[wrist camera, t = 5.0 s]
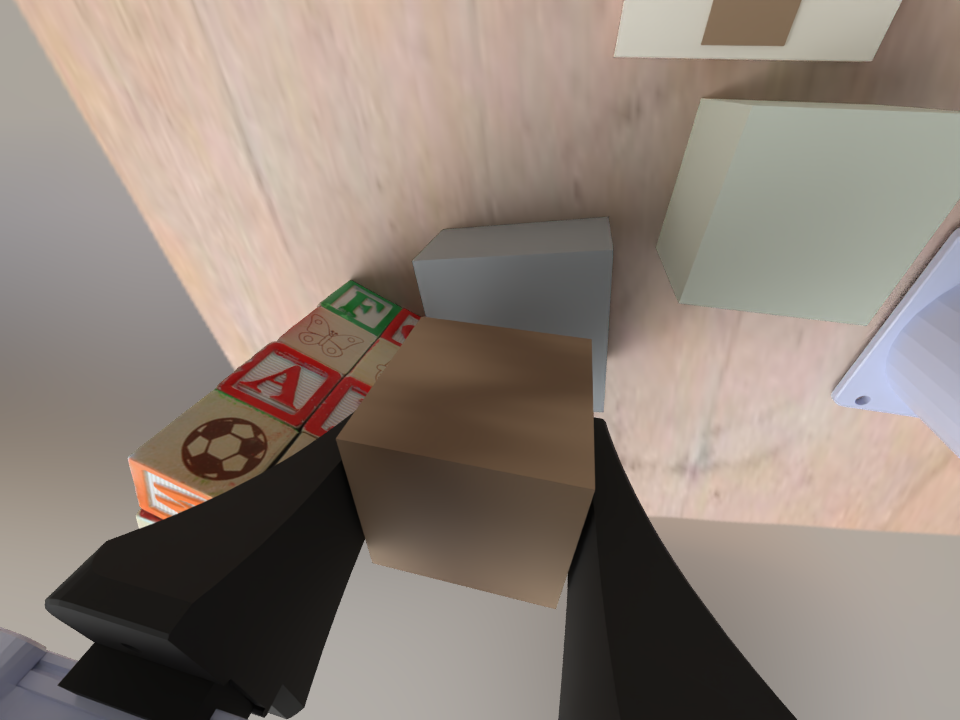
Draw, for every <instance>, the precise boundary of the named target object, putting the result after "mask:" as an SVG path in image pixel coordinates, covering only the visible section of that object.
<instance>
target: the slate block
mask: <svg viewBox="0 0 960 720" xmlns="http://www.w3.org/2000/svg"><path fill="white" fill-rule="evenodd" d="M412 263H413V267H414V271H415V275H416V279H417V283H418V287H419V291H420V295H421V300H422V304H423V308H424V312H425V316H426V317H430V318H438V319H445V320H452V321H460V322H467V323H475V324H482V325H490V326H497V327H505V328H512V329H520V330H527V331H534V332H542V333H549V334H557V335H564V336H572V337H579V338H587V339H592V372H593V412H604V397H605V380H606V364H607V347H608V331H609V314H610V298H611V281H612V265H613V244H612V237H611V230H610V224H609V217H598V218H585V219H572V220H559V221H546V222H533V223H520V224H507V225H494V226H481V227H468V228H455V229H443V230H442V231H441V232H440V233H439V234H438V235H437V236H436V237H435V238H434V239H433V240H432V241H431V242H430V243H429V244H428V245H427V246H426V247H425V248H424V249H423V250H422V251H421V252H420V253H419V254H418V255H417V256H416V257H415V258H414V259H413V260H412Z"/></svg>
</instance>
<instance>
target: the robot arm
mask: <svg viewBox="0 0 960 720" xmlns="http://www.w3.org/2000/svg"><path fill="white" fill-rule="evenodd" d="M861 396H863V397H862V398H859V399H857V398H858V397H861ZM831 397H832V399H833V400H834V402H835V403H836V404H837V405H840V406H844V407H851V408H857V409H864V410H871V411H878V412H884V413H891V414H898V415H904V416H911V417H918V418H920V419H921V420H922V421H923V422H924V423H925V424H926V425H927V426H928V427H929V428H930V429H931V430H932V431H933V432H934V433H935V434H936V435H937V436H938V437H939V438H940V439H941V440H942V441H943V442H944V443H945V444H946V445H947V446H948V447H949V448H950V449H951V450H952V451H953V452H954V453H955V454H956V455H957V457H958V458H959V459H960V227H959V228H957V229H956V230H955V231H954V232H953V233H952V234H951V235H950V237H949V238H948V239H947V241H946V242H945V243H944V245H943V246H942V247H941V248H940V250H939V251H938V252H937V254H936V255H935V256H934V258H933V259H932V260H931V262H930V263H929V264H928V266H927V267H926V268H925V270H924V271H923V272H922V274H921V275H920V276H919V278H918V279H917V280H916V282H915V283H914V284H913V286H912V287H911V288H910V290H909V291H908V292H907V294H906V295H905V296H904V298H903V299H902V300H901V302H900V303H899V304H898V306H897V307H896V308H895V309H894V311H893V312H892V313H891V315H890V316H889V317H888V319H887V320H886V321H885V323H884V324H883V325H882V327H881V328H880V329H879V331H878V332H877V333H876V335H875V336H874V337H873V339H872V340H871V341H870V343H869V344H868V345H867V347H866V348H865V349H864V351H863V352H862V353H861V355H860V356H859V357H858V359H857V360H856V361H855V363H854V364H853V365H852V367H851V368H850V369H849V370H848V372H847V373H846V374H845V376H844V377H843V378H842V380H841V381H840V382H839V384H838V385H837V386H836V388H835V389H834V390H833V392H832V394H831ZM355 411H356V410H355ZM355 411H354V412H355ZM354 412H353V413H354ZM353 413H352V414H350V415H349V416H348V417H346V418H345V419H344V420H342V421H341V422H340V423H338V424H337V425H336V426H334V427H333V428H332V429H330V430H329V431H328V432H326V433H325V434H323V435H322V436H320V437H319V438H317V439H316V440H315V441H313V442H312V443H310V444H309V445H307V446H306V447H304V448H303V449H301V450H300V451H298V452H297V453H295V454H294V455H292V456H290V457H289V458H287V459H285V460H284V461H282V462H280V463H279V464H277V465H275V466H273V467H272V468H270V469H268V470H266V471H265V472H263V473H261V474H259V475H257V476H255V477H253V478H251V479H250V480H248V481H246V482H244V483H242V484H240V485H238V486H236V487H234V488H232V489H230V490H228V491H226V492H224V493H222V494H220V495H218V496H216V497H214V498H212V499H209V500H207V501H205V502H203V503H201V504H198V505H196V506H194V507H192V508H189V509H187V510H185V511H182V512H180V513H178V514H175V515H173V516H171V517H168V518H166V519H163V520H161V521H158V522H156V523H153V524H150V525H148V526H145V527H143V528H140V529H137V530H135V531H132V532H129V533H127V534H125V535H122V536H119V537H116V538H114V539H111V540H108V541H106V542H105V543H104V544H103V545H102V546H101V547H100V548H99V549H98V550H97V551H96V552H95V553H94V554H93V555H92V556H90V557H89V558H88V559H87V560H86V561H85V562H84V563H83V564H82V565H81V566H80V567H79V568H78V569H77V570H76V571H75V572H74V573H73V574H72V575H71V576H70V577H69V578H68V579H66V581H65V582H63V583H62V584H61V585H60V586H59V587H58V588H57V589H56V590H55V591H54V592H53V593H52V594H51V595H50V596H49V597H48V598H47V599H46V600H45V608H46V610H47V611H48V612H49V613H51V614H52V615H53V616H55V617H56V618H57V619H59V620H60V621H62V622H64V623H65V624H67V625H68V626H70V627H71V628H73V629H75V630H76V631H78V632H79V633H81V634H82V635H84V636H85V637H87V638H88V639H90V640H92V641H93V642H95V643H94V644H93V645H92V646H91V647H90V649H89V650H88V651H87V652H86V653H85V654H84V655H83V656H82V658H81V659H80V660H79V661H77V660H74V659H71V658H68V657H65V656H63V655H60V654H56V653H53V652H51V651H48V650H46V647H45V646H43V645H41V644H39V643H38V642H36V641H34V640H32V639H30V638H28V637H26V636H23V635H21V634H18V633H16V632H13V631H10V630H7V629H4V628H2V627H0V720H247V719H248V717H249V716H250V714H251V713H252V714H255V715H258V716H261V717H265V716H266V715H267V713H270V714H273V715H276V716H280V717H282V718H285V719H288V718H291V717H292V716H294V715H295V714H297V713H298V712H299V711H301V710H302V709H303V708H304V707H305V703H306V700H307V697H308V694H309V691H310V687H311V685H312V682H313V679H314V675H315V672H316V670H317V666H318V663H319V660H320V657H321V654H322V651H323V648H324V646H325V642H326V640H327V637H328V634H329V631H330V628H331V625H332V623H333V620H334V617H335V614H336V612H337V609H338V606H339V604H340V601H341V598H342V596H343V593H344V590H345V588H346V585H347V583H348V580H349V577H350V574H351V572H352V570H353V567H354V565H355V562H356V560H357V557H358V555H359V552H360V550H361V547H362V545H363V542H364V540H365V536H364V533H363V529H362V526H361V522H360V519H359V516H358V512H357V509H356V505H355V502H354V499H353V495H352V492H351V489H350V485H349V482H348V478H347V475H346V472H345V468H344V465H343V462H342V458H341V455H340V451H339V448H338V445H337V441H336V438H337V436H338V435H339V433H340V432H341V430H342V429H343V428H344V426H345V425H346V423H347V422H348V421H349V419H350V418H351V416H352V415H353ZM594 461H595V492H594V495H593V498H592V501H591V504H590V507H589V510H588V513H587V516H586V519H585V522H584V525H583V528H582V531H581V534H580V537H579V540H578V543H577V546H576V549H575V552H574V555H573V559H572V562H571V565H570V568H569V571H568V594H567V609H566V611H567V612H566V625H565V640H564V654H563V668H562V681H561V694H560V706H559V719H558V720H797V719H796V718H795V716H794V715H793V714H792V713H791V712H790V711H789V710H788V709H787V707H786V706H785V705H784V704H783V703H782V702H781V700H780V699H779V698H778V697H777V696H776V695H775V693H774V692H773V691H772V690H771V689H770V687H769V686H768V685H767V684H766V683H765V682H764V680H763V679H762V678H761V677H760V675H759V674H758V673H757V672H756V671H755V669H754V668H753V667H752V666H751V664H750V663H749V662H748V661H747V660H746V658H745V657H744V656H743V654H742V653H741V652H740V651H739V649H738V648H737V647H736V646H735V644H734V643H733V642H732V641H731V640H730V638H729V637H728V636H727V635H726V633H725V632H724V630H723V629H722V628H721V626H720V625H719V624H718V623H717V621H716V620H715V618H714V617H713V615H712V614H711V613H710V611H709V610H708V609H707V607H706V606H705V605H704V603H703V602H702V601H701V599H700V598H699V597H698V595H697V594H696V592H695V591H694V590H693V588H692V587H691V586H690V584H689V583H688V581H687V580H686V578H685V577H684V575H683V574H682V572H681V571H680V569H679V568H678V566H677V565H676V563H675V562H674V560H673V558H672V557H671V555H670V554H669V552H668V551H667V549H666V547H665V546H664V544H663V543H662V541H661V539H660V538H659V536H658V534H657V533H656V531H655V529H654V527H653V526H652V524H651V522H650V520H649V518H648V517H647V515H646V513H645V511H644V509H643V507H642V506H641V504H640V502H639V500H638V498H637V496H636V494H635V492H634V490H633V488H632V486H631V484H630V481H629V479H628V477H627V475H626V473H625V471H624V469H623V466H622V464H621V462H620V460H619V457H618V455H617V452H616V450H615V447H614V445H613V442H612V439H611V437H610V434H609V431H608V428H607V425H606V422H605V421H604V420H603V419H600V418H594Z"/></svg>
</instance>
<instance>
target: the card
mask: <svg viewBox="0 0 960 720" xmlns="http://www.w3.org/2000/svg"><path fill="white" fill-rule="evenodd" d="M901 2H902V0H624V2H623V8H622V13H621V19H620V24H619V30H618V35H617V41H616V46H615V52H614V58H664V59H719V60H773V61H828V62H868V61H872V60H873V58H874V56H875V54H876V52H877V50H878V48H879V46H880V44H881V42H882V40H883V38H884V36H885V34H886V32H887V30H888V28H889V26H890V24H891V22H892V20H893V18H894V16H895V14H896V12H897V10H898V8H899V6H900V4H901Z"/></svg>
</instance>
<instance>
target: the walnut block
mask: <svg viewBox="0 0 960 720" xmlns="http://www.w3.org/2000/svg"><path fill="white" fill-rule="evenodd" d="M336 441H337V445H338V448H339V451H340V455H341V458H342V462H343V465H344V468H345V472H346V475H347V478H348V482H349V485H350V489H351V492H352V495H353V499H354V502H355V505H356V509H357V512H358V516H359V519H360V522H361V526H362V529H363V533H364V536H365V539H366V543H367V546H368V549H369V553H370V556H371V559H372V563H374V564H378V565H382V566H386V567H390V568H394V569H398V570H402V571H406V572H410V573H414V574H418V575H422V576H426V577H430V578H434V579H438V580H442V581H446V582H450V583H454V584H458V585H462V586H466V587H470V588H474V589H478V590H482V591H486V592H490V593H494V594H498V595H502V596H505V597H509V598H513V599H517V600H521V601H525V602H529V603H533V604H537V605H541V606H545V607H549V608H553V609H556V607H557V604H558V601H559V598H560V595H561V592H562V589H563V586H564V583H565V580H566V577H567V574H568V571H569V568H570V565H571V562H572V559H573V555H574V552H575V549H576V546H577V543H578V540H579V537H580V534H581V531H582V528H583V525H584V522H585V519H586V516H587V513H588V510H589V507H590V504H591V501H592V498H593V495H594V492H595V461H594V416H593V372H592V339H587V338H579V337H572V336H564V335H557V334H549V333H542V332H534V331H527V330H520V329H512V328H505V327H497V326H490V325H482V324H475V323H467V322H460V321H452V320H445V319H438V318H430V317H423V316H422V317H421V318H420V320H419V321H418V322H417V324H416V325H415V327H414V328H413V329H412V331H411V332H410V334H409V335H408V337H407V338H406V339H405V341H404V342H403V344H402V345H401V347H400V348H399V349H398V351H397V352H396V354H395V355H394V356H393V358H392V359H391V361H390V362H389V364H388V365H387V366H386V368H385V369H384V371H383V372H382V374H381V375H380V376H379V378H378V379H377V381H376V382H375V384H374V385H373V386H372V388H371V389H370V391H369V392H368V393H367V395H366V396H365V398H364V399H363V401H362V402H361V403H360V405H359V406H358V408H357V409H356V411H355V412H354V413H353V415H352V416H351V418H350V419H349V421H348V422H347V423H346V425H345V426H344V428H343V429H342V430H341V432H340V433H339V435H338V436H337V438H336Z"/></svg>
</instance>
